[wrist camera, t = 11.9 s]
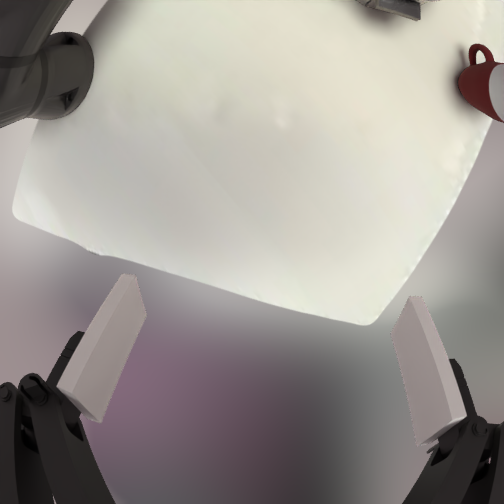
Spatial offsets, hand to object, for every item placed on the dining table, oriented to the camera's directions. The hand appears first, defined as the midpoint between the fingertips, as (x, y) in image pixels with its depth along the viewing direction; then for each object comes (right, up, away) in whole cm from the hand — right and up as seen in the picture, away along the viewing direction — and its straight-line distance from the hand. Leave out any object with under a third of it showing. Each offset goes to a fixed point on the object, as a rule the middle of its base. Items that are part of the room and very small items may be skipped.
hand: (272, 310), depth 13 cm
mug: (+30, +28, +13) cm, 43 cm away
